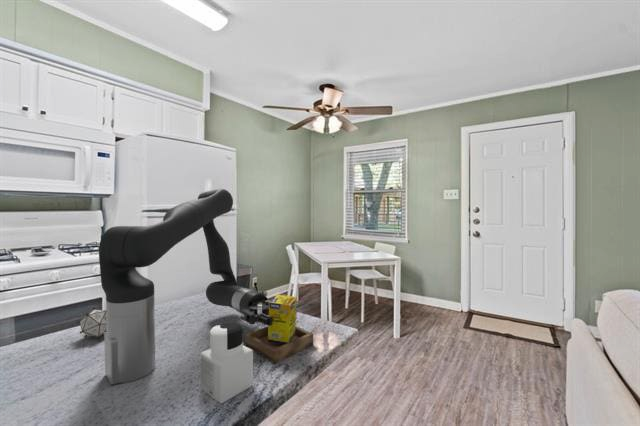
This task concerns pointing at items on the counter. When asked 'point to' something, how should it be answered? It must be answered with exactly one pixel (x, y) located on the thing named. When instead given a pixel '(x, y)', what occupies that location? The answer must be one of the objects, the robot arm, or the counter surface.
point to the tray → (275, 350)
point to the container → (226, 363)
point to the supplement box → (282, 319)
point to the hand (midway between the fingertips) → (283, 317)
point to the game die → (94, 323)
